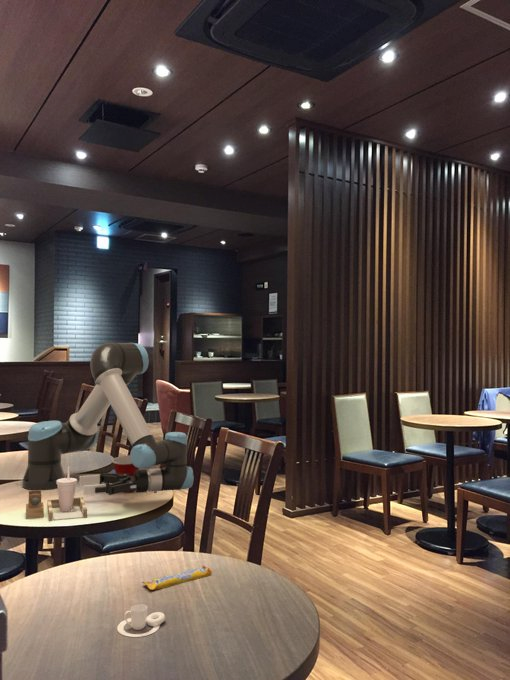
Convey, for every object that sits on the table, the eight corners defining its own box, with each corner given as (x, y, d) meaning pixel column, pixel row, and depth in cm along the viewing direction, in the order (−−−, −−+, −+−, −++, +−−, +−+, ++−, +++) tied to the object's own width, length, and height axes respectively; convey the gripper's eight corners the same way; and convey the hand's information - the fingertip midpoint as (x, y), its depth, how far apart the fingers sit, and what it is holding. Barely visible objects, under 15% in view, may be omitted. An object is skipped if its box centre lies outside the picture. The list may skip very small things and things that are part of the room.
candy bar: (204, 571, 139) (204, 563, 139) (214, 576, 135) (214, 569, 135) (140, 588, 128) (140, 579, 128) (149, 594, 125) (149, 586, 125)
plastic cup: (104, 492, 207) (105, 459, 207) (122, 486, 217) (123, 454, 217) (130, 496, 203) (131, 462, 203) (147, 489, 213) (147, 456, 213)
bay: (47, 507, 187) (47, 499, 187) (82, 504, 191) (82, 497, 191) (49, 521, 173) (49, 512, 173) (87, 517, 177) (87, 509, 177)
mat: (52, 514, 179) (52, 513, 179) (80, 512, 182) (80, 511, 182) (53, 520, 174) (53, 519, 174) (82, 517, 177) (82, 516, 177)
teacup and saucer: (166, 619, 114) (166, 598, 114) (161, 639, 106) (161, 617, 106) (121, 618, 114) (122, 598, 114) (113, 639, 106) (113, 617, 106)
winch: (25, 513, 181) (26, 490, 181) (42, 511, 182) (43, 489, 182) (25, 519, 175) (26, 495, 175) (43, 517, 176) (44, 494, 176)
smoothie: (70, 513, 181) (71, 469, 181) (51, 512, 182) (52, 467, 182) (80, 508, 187) (81, 465, 187) (62, 506, 188) (63, 463, 188)
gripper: (154, 501, 182) (85, 507, 174) (139, 483, 205) (77, 487, 197) (155, 477, 182) (85, 482, 174) (140, 462, 205) (78, 465, 197)
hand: (81, 485), depth 186 cm, fingers open, 13 cm apart
